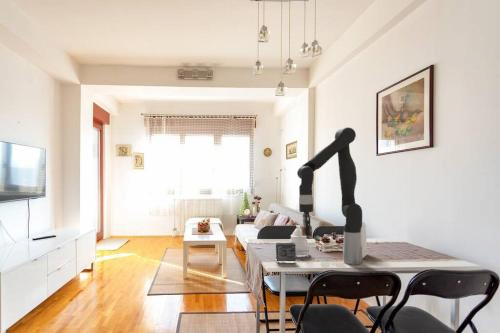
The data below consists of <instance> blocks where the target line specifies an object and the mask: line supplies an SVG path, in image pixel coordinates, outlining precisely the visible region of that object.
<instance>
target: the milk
mask: <svg viewBox="0 0 500 333" xmlns="http://www.w3.org/2000/svg"><path fill="white" fill-rule="evenodd" d="M344 226H345V224H344ZM344 226H343V227H344ZM366 227H367V225H366V223H365V221H363V220H362V227H361V246H362V259H364V258H365V257H366V256H368V247H367V246H368V244H367V228H366ZM342 242H343V244H342V246H343V247H342V257H344V239H343V241H342Z"/></svg>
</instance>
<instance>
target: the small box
mask: <svg viewBox="0 0 500 333" xmlns="http://www.w3.org/2000/svg"><path fill="white" fill-rule="evenodd" d="M296 258H297V257H296V251H295V244H294V243H290V242H276V243H275V260H276V259H277V261H297V260H296Z"/></svg>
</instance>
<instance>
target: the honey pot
mask: <svg viewBox="0 0 500 333" xmlns="http://www.w3.org/2000/svg"><path fill="white" fill-rule="evenodd" d="M295 227H296V228H295V229H294V231H293V232H292V234H290V239H289V243H294V244H295V251H296V255H308V254H309V255H310V245H309V242H308V239H307V237H308V236H302V227H301V225H296V226H295Z"/></svg>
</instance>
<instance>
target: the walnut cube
mask: <svg viewBox="0 0 500 333" xmlns="http://www.w3.org/2000/svg"><path fill="white" fill-rule="evenodd" d="M301 229H302V236H307V237H312V236H313V226H312V225H311V224H310V235H305V225H303V224H302V225H301Z"/></svg>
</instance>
